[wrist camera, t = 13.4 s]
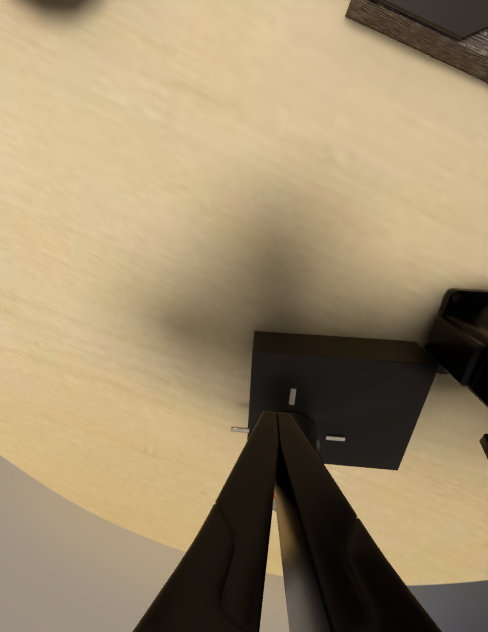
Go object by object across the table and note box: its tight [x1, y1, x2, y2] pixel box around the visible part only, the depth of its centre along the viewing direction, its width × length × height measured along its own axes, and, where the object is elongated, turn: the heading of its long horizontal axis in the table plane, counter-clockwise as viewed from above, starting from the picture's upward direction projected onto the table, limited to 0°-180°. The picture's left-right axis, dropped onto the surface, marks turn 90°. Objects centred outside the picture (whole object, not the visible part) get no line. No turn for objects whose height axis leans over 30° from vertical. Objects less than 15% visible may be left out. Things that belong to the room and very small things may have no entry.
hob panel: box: [231, 331, 439, 470], centre depth 21 cm, size 13×11×3 cm
